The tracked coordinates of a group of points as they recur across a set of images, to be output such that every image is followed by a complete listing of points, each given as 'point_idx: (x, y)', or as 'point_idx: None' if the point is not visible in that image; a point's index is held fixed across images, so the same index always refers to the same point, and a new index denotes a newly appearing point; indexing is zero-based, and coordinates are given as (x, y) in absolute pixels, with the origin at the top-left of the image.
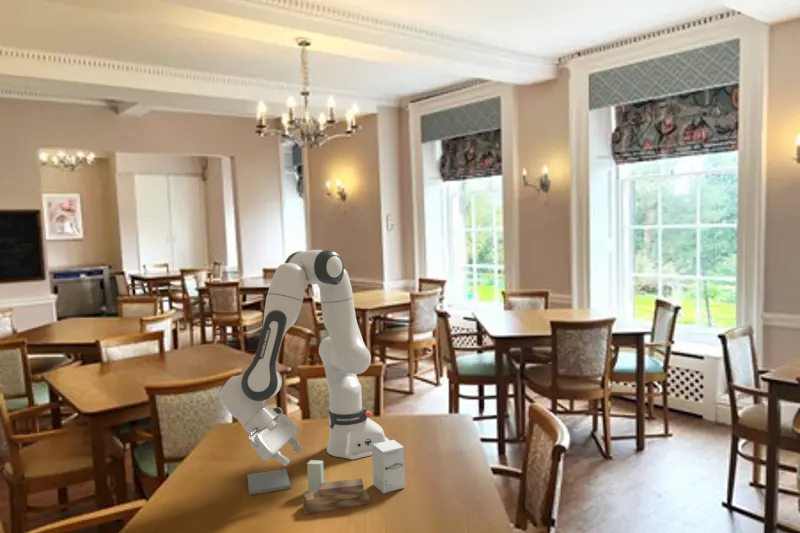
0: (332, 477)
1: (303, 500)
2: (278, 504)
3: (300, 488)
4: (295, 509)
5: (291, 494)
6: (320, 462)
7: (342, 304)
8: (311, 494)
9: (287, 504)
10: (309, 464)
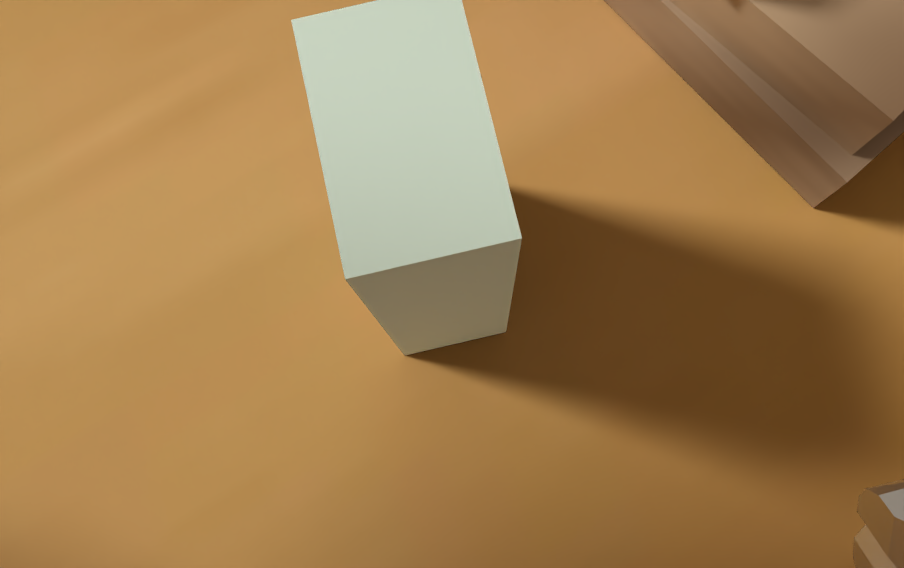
0: (32, 291)
1: (852, 164)
2: None
3: (427, 506)
4: (895, 255)
5: (609, 521)
6: (380, 26)
7: None
8: (866, 15)
9: (841, 413)
10: (509, 199)
